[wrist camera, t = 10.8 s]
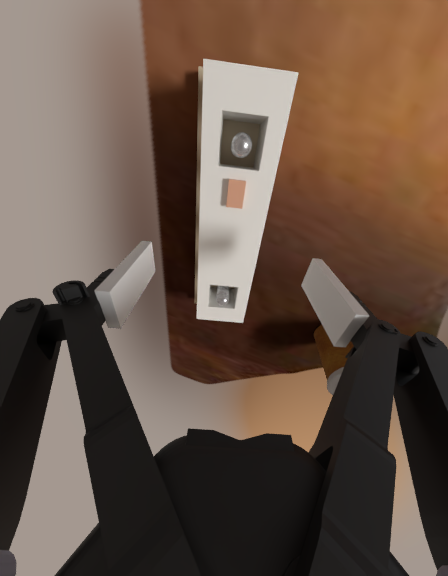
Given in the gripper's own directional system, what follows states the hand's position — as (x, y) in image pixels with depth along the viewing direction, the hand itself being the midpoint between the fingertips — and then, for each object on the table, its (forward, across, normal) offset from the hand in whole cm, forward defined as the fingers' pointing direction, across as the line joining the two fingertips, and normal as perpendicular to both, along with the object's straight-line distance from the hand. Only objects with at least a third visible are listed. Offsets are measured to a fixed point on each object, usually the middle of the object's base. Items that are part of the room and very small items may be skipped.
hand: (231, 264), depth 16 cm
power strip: (+12, 0, 0) cm, 12 cm away
